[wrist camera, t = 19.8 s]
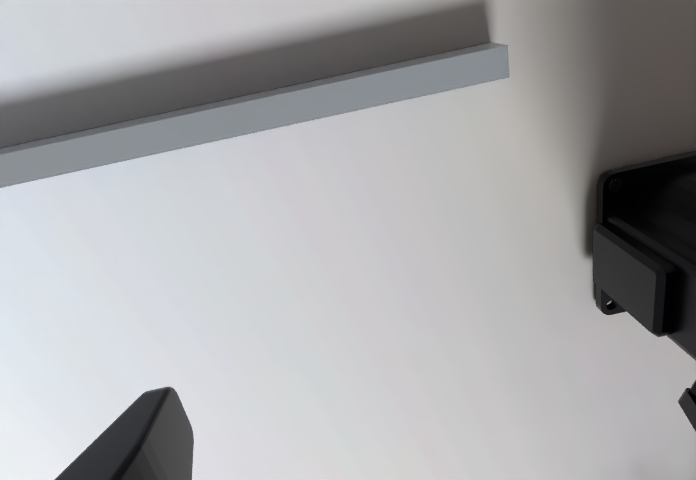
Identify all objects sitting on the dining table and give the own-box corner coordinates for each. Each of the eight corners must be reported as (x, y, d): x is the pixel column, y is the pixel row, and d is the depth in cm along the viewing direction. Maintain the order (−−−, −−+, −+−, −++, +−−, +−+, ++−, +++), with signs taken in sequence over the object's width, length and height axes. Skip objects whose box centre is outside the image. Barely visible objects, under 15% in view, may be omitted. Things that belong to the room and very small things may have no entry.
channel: (471, -230, 15) (490, -255, 13) (492, 72, 18) (509, 77, 17) (-299, -71, 14) (-361, -80, 13) (-126, 206, 18) (-161, 222, 16)
